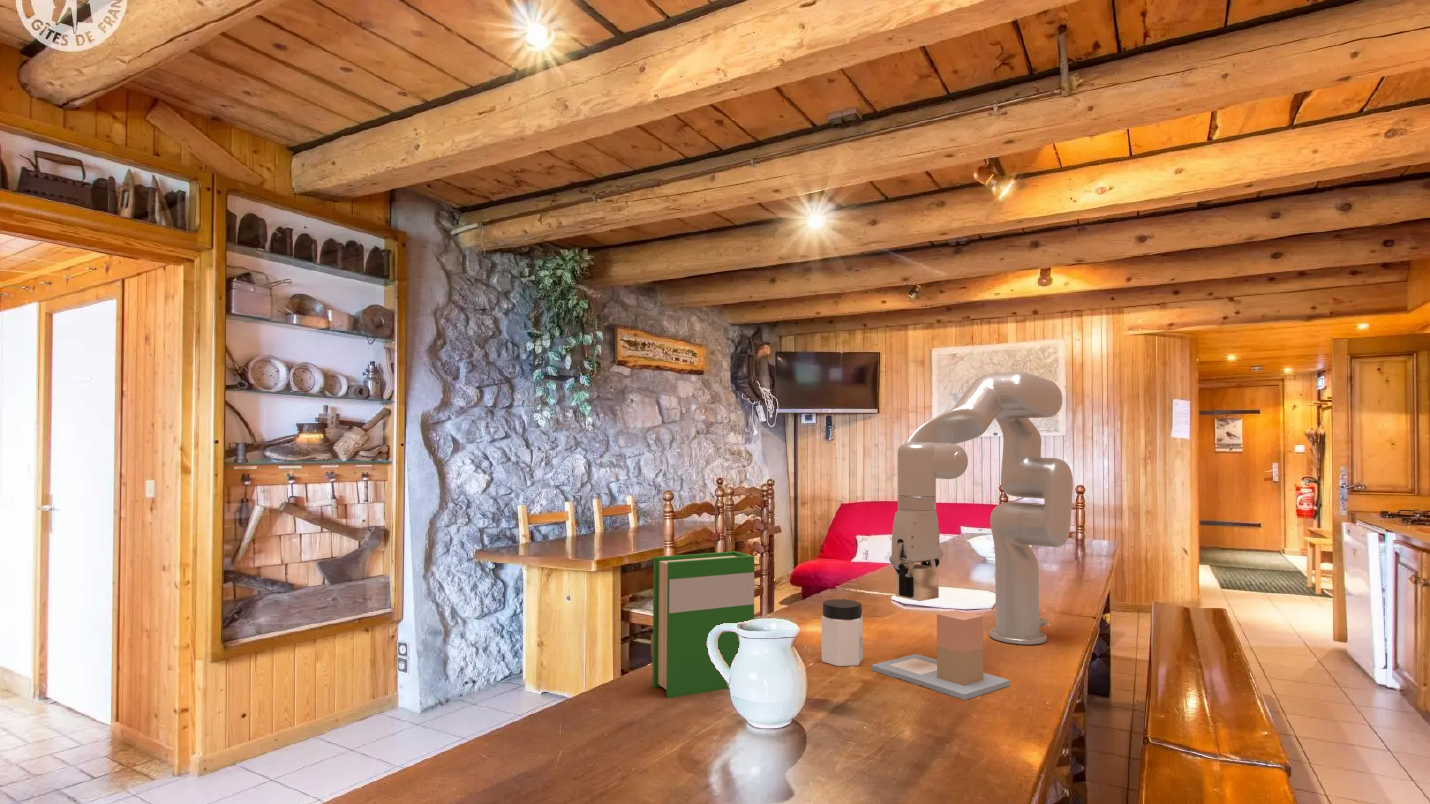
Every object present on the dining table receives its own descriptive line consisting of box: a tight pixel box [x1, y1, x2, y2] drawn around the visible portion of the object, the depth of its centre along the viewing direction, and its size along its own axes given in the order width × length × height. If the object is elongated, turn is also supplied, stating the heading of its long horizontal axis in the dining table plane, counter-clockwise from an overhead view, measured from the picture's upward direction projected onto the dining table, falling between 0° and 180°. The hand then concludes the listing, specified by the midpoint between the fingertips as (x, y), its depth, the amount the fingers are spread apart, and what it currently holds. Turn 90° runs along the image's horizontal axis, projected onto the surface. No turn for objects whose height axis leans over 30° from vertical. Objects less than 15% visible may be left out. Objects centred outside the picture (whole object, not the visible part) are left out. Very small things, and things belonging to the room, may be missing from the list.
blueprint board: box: [870, 645, 1011, 701], centre depth 151 cm, size 14×22×7 cm, turn 37°
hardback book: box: [651, 551, 755, 699], centre depth 146 cm, size 18×7×24 cm, turn 117°
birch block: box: [894, 563, 940, 602], centre depth 156 cm, size 6×6×6 cm
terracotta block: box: [936, 609, 984, 653], centre depth 147 cm, size 6×6×6 cm
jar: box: [821, 598, 864, 667], centre depth 162 cm, size 9×8×12 cm
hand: (917, 593), depth 155 cm, fingers closed on birch block, 6 cm apart
